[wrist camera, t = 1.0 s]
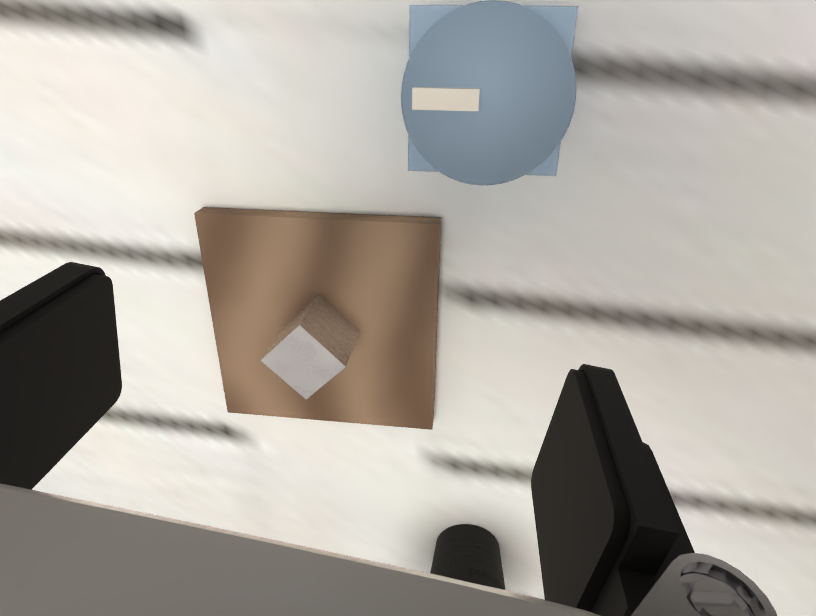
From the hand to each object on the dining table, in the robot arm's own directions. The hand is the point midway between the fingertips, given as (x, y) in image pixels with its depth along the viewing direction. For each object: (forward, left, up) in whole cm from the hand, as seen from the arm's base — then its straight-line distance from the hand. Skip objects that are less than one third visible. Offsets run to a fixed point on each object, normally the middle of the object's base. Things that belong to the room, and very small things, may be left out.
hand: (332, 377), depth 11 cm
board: (+6, +10, -21) cm, 24 cm away
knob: (-3, -4, -21) cm, 21 cm away
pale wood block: (+6, +10, -20) cm, 23 cm away
